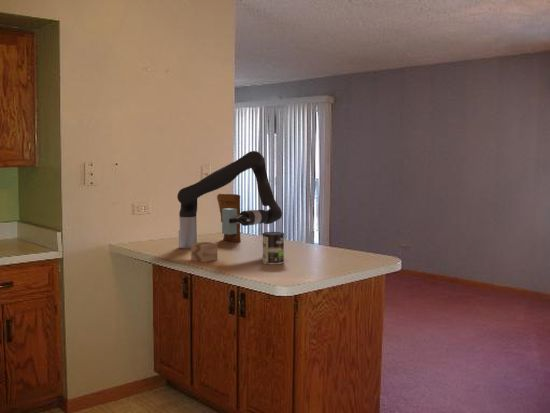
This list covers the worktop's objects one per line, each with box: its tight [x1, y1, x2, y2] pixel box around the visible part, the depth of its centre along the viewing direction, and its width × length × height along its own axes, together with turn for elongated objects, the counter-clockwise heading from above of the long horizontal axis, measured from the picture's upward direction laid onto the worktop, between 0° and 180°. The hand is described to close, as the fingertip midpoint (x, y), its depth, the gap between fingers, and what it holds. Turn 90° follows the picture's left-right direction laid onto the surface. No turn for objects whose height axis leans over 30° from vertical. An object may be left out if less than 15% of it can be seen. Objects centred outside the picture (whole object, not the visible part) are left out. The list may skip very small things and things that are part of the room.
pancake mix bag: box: [216, 193, 242, 243], centre depth 335 cm, size 7×19×28 cm, turn 43°
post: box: [221, 208, 237, 235], centre depth 275 cm, size 5×5×12 cm
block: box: [190, 241, 218, 263], centre depth 277 cm, size 9×9×8 cm
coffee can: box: [261, 231, 285, 265], centre depth 269 cm, size 10×10×14 cm
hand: (225, 220), depth 273 cm, fingers closed on post, 5 cm apart
